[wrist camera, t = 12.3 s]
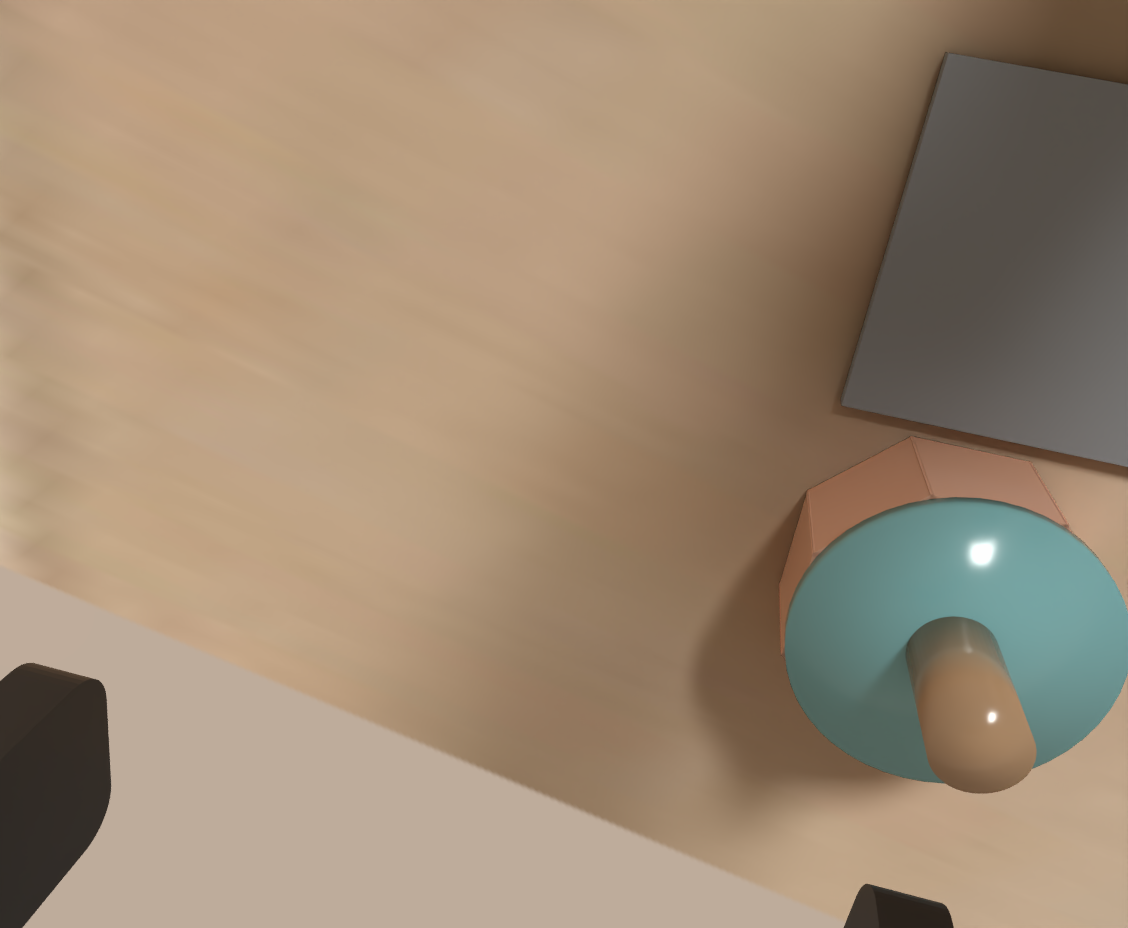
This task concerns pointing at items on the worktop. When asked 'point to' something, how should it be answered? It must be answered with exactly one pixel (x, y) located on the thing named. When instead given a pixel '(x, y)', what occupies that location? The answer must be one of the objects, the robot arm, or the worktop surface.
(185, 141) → the worktop surface
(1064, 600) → the lid
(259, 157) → the worktop surface
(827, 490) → the bowl
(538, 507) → the worktop surface
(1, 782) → the robot arm
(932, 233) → the mat
